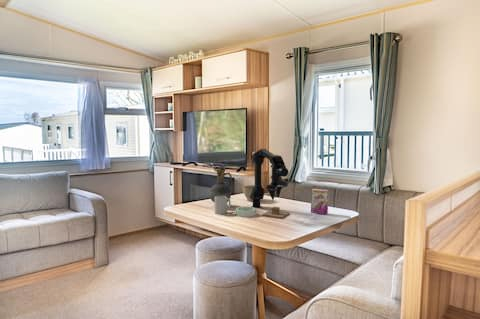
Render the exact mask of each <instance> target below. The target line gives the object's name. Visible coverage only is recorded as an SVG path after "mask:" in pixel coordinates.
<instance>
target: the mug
mask: <svg viewBox="0 0 480 319" xmlns="http://www.w3.org/2000/svg"><path fill="white" fill-rule="evenodd" d="M227 201H228V202H227ZM231 205H232V204H231V198H230V199H229V198H227V197H226V196H215V203H214V214H216V215H226V214H228V209H229V208H230V207H231Z"/></svg>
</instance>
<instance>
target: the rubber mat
mask: <svg viewBox="0 0 480 319" xmlns="http://www.w3.org/2000/svg"><path fill="white" fill-rule="evenodd" d="M290 215H291V213H289V214H288V215H287V216H285V217H284V218H282V219H280V218H275V219H276V220H284V219H286V218H288V217H289V216H290ZM260 217H261V218H262V217H263V218H266V217H265V216H262V214H261V215H260ZM268 218H269V219H270V218H271V219H273V218H272V217H268Z"/></svg>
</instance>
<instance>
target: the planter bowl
mask: <svg viewBox="0 0 480 319" xmlns="http://www.w3.org/2000/svg"><path fill="white" fill-rule="evenodd" d="M254 186H255V184H253V185H249V184H248V185H244V186H242V190H243V195H244V197H245V199H246V201H249V202H253V200H252V199H250V195H251V193H252V189H253V187H254Z"/></svg>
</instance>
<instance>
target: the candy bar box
mask: <svg viewBox="0 0 480 319" xmlns="http://www.w3.org/2000/svg"><path fill="white" fill-rule="evenodd" d="M310 200H311V201H310V203H311V204H310V214H315V213H318V215H326V214H327V215H328V213H329V189H320V188H312V189H311V199H310Z"/></svg>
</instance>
